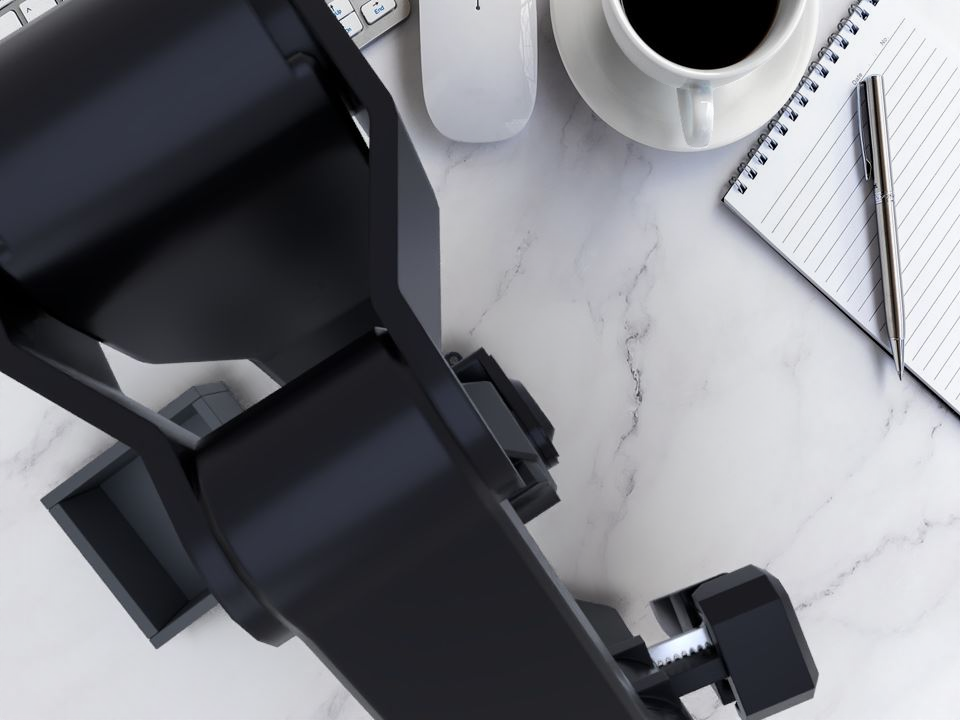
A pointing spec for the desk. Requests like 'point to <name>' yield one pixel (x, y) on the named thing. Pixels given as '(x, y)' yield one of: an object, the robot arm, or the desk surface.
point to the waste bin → (141, 524)
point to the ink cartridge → (605, 622)
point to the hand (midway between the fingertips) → (579, 639)
